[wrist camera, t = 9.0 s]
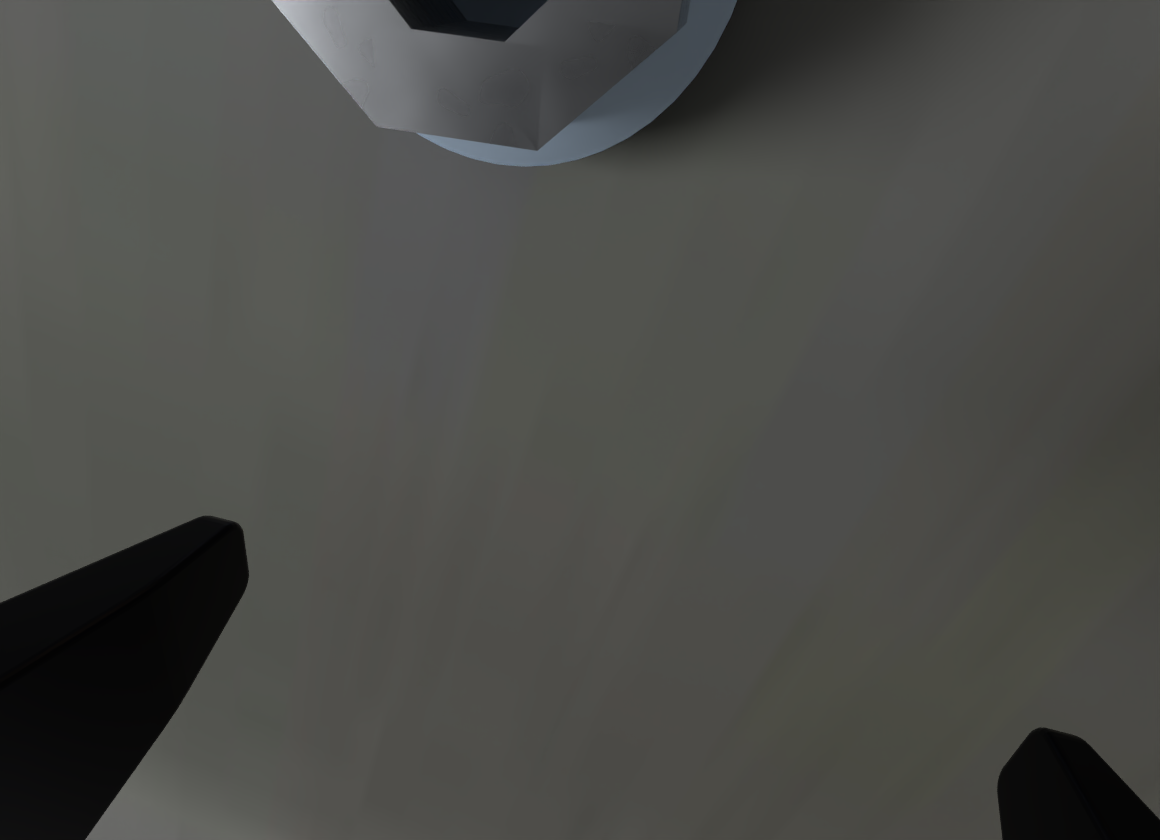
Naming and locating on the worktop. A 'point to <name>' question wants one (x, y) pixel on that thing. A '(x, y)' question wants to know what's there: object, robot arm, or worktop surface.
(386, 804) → the worktop surface
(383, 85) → the ring
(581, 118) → the hub
